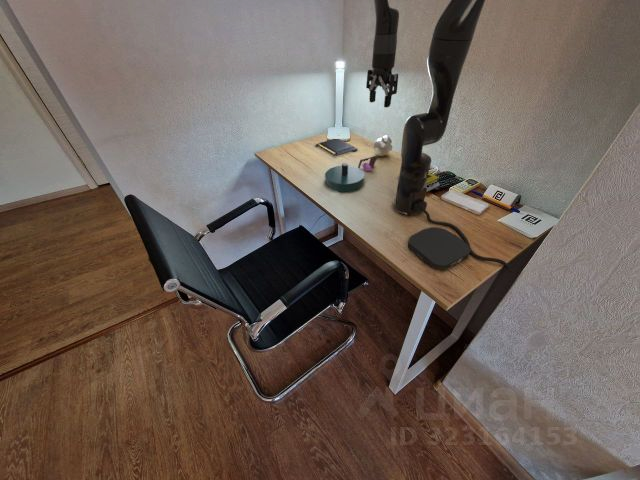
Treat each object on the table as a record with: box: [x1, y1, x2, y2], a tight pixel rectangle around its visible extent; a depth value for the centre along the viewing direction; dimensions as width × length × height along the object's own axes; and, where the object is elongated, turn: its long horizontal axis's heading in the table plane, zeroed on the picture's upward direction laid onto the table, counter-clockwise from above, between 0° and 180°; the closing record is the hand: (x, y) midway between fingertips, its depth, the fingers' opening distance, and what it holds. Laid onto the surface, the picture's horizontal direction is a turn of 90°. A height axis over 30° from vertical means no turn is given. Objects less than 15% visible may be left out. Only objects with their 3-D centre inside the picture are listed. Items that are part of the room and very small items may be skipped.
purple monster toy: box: [357, 155, 378, 172], centre depth 120 cm, size 7×5×9 cm
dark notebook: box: [315, 138, 358, 157], centre depth 143 cm, size 20×2×15 cm
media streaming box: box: [407, 226, 471, 271], centre depth 80 cm, size 15×15×3 cm
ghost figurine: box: [372, 135, 393, 157], centre depth 130 cm, size 9×10×10 cm
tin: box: [325, 178, 365, 194], centre depth 114 cm, size 16×16×4 cm
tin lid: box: [324, 162, 366, 185], centre depth 111 cm, size 17×17×6 cm
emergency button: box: [425, 172, 441, 193], centre depth 111 cm, size 9×4×15 cm
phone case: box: [440, 189, 490, 216], centre depth 98 cm, size 7×1×15 cm
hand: (379, 104), depth 97 cm, fingers open, 8 cm apart
